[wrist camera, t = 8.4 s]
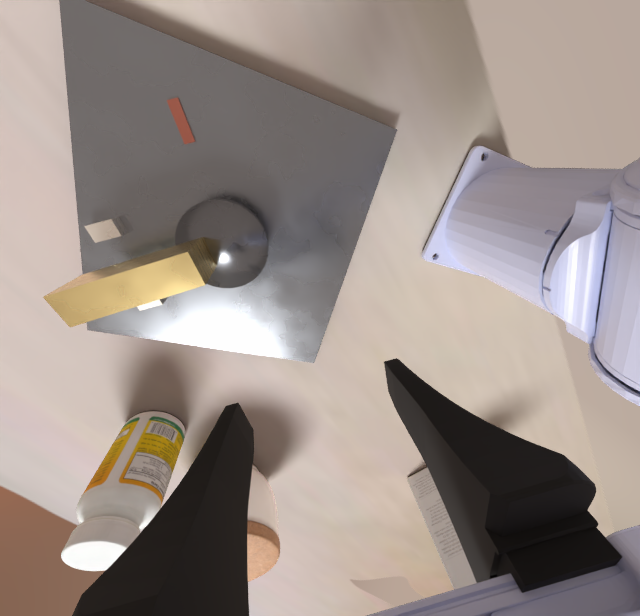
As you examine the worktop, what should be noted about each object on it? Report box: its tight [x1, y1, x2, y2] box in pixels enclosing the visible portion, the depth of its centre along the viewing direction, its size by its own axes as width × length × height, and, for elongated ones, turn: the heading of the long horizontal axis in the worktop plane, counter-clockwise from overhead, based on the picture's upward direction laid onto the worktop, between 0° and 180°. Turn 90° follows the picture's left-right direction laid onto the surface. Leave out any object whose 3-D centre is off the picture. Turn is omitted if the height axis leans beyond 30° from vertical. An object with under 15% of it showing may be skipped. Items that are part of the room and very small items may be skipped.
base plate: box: [59, 0, 397, 363], centre depth 17 cm, size 17×18×2 cm
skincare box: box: [407, 467, 477, 590], centre depth 31 cm, size 6×4×12 cm
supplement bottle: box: [61, 411, 185, 571], centre depth 21 cm, size 5×5×10 cm
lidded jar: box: [247, 465, 280, 582], centre depth 27 cm, size 11×11×9 cm
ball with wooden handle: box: [43, 198, 269, 327], centre depth 15 cm, size 11×5×4 cm, turn 105°
